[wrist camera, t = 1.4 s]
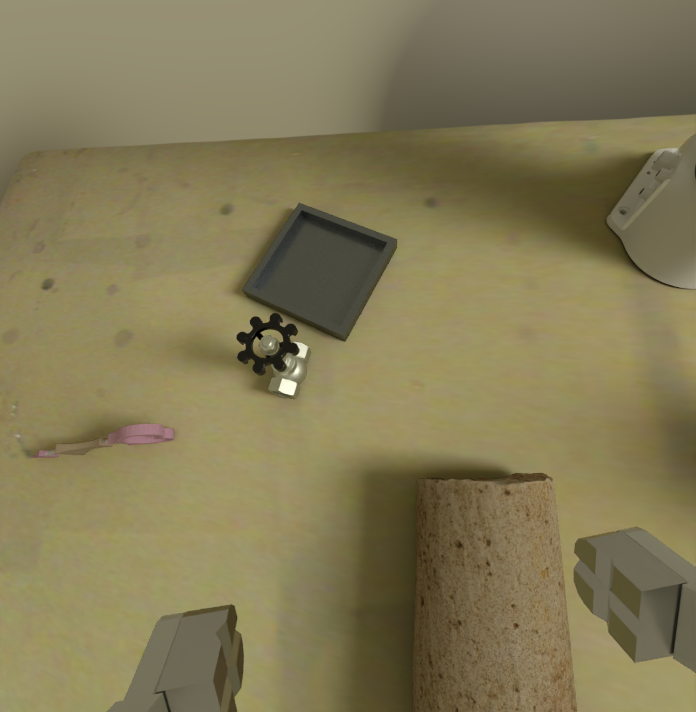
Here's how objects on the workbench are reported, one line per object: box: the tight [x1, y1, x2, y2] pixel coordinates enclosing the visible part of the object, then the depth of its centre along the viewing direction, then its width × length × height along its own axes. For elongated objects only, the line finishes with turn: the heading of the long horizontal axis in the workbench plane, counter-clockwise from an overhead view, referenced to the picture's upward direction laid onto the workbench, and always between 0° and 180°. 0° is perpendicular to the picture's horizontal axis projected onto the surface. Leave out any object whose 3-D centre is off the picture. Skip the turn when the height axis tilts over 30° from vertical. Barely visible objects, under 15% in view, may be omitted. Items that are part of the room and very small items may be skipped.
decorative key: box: [30, 424, 174, 458], centre depth 46 cm, size 7×1×20 cm
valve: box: [237, 313, 311, 399], centre depth 43 cm, size 7×7×12 cm
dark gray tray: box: [242, 203, 397, 341], centre depth 52 cm, size 16×16×2 cm
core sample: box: [412, 473, 577, 712], centre depth 34 cm, size 14×26×10 cm, turn 177°
